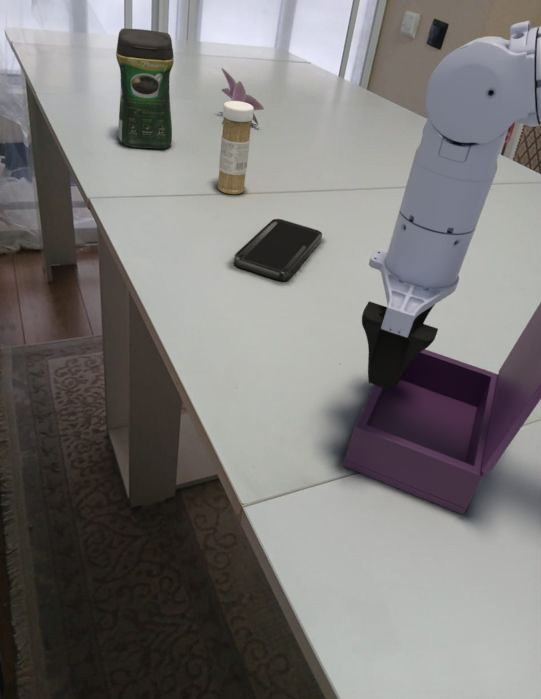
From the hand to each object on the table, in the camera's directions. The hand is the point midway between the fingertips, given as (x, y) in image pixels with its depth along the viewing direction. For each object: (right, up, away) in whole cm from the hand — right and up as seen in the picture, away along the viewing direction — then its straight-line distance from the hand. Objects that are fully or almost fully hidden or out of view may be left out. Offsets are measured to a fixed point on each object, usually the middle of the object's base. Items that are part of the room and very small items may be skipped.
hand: (391, 360), depth 52 cm
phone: (-9, +14, +30) cm, 34 cm away
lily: (-18, +49, +75) cm, 91 cm away
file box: (+3, -7, +4) cm, 9 cm away
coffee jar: (-34, +39, +57) cm, 77 cm away
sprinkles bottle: (-17, +27, +45) cm, 55 cm away
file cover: (+10, 0, -4) cm, 11 cm away
